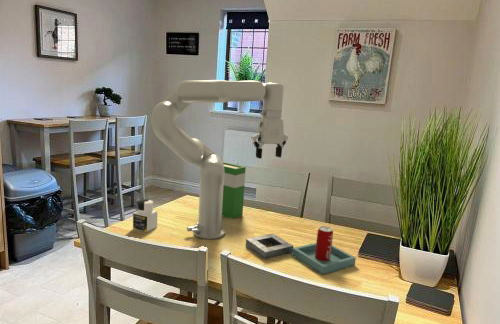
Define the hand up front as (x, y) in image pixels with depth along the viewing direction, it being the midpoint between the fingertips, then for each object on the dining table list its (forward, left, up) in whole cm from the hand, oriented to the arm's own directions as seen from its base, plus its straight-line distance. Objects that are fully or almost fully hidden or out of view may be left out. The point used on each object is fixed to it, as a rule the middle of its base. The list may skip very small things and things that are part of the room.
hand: (268, 157), depth 146 cm
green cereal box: (-2, +31, -34) cm, 46 cm away
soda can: (+7, -29, -33) cm, 44 cm away
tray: (+7, -29, -33) cm, 45 cm away
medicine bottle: (-42, +26, -34) cm, 60 cm away
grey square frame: (-6, -13, -33) cm, 36 cm away
